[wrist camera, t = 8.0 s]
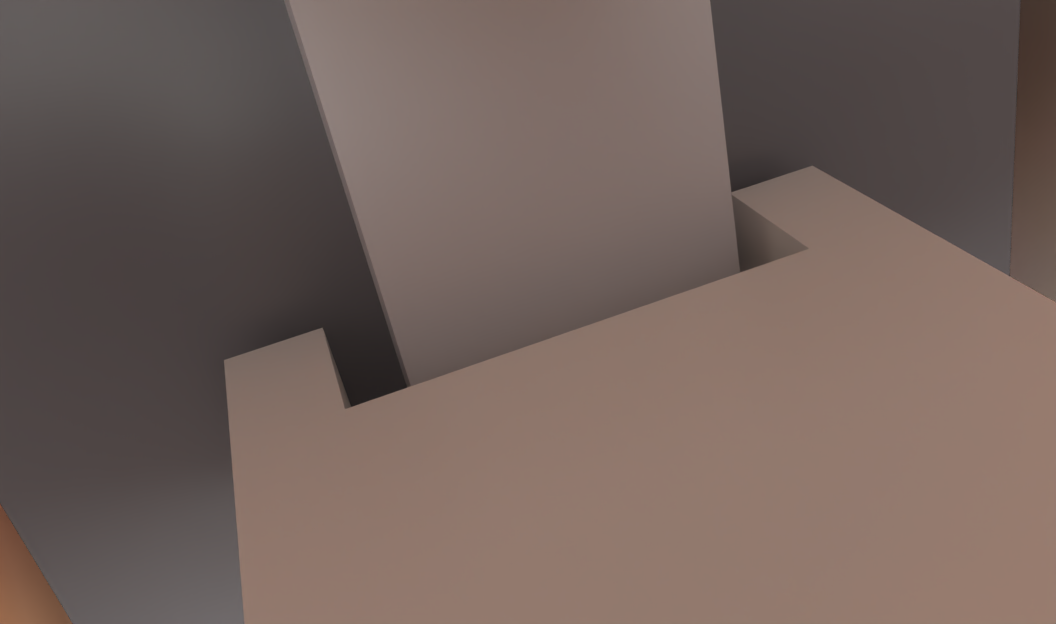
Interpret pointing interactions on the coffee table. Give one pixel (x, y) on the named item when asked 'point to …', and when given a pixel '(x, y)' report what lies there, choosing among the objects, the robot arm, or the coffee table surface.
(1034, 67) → the coffee table surface
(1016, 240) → the coffee table surface
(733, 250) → the rail plate
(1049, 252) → the coffee table surface
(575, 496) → the block
